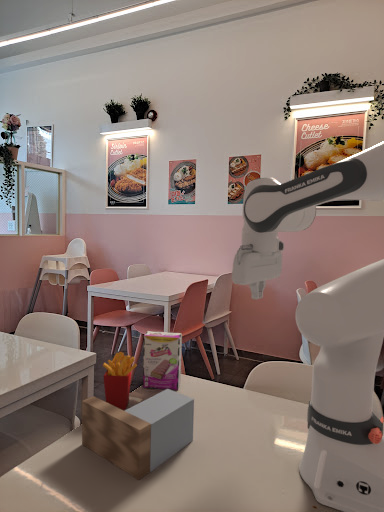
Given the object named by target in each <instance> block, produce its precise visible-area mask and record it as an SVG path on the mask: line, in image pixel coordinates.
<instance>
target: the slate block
mask: <svg viewBox="0 0 384 512" xmlns="http://www.w3.org/2000/svg"><path fill="white" fill-rule="evenodd" d="M194 408H195V398H193V397H190V396H187V395H185V394H182V393H179V392H177V391H175V390H171V389H163V390H162V391H160V392H158V393H157V394H154V395H153V396H151V397H148V398H147V399H144V400H142V401H141V402H138V403H137V404H135V405H132V406H131V407H130V408H126V410H125V411H126V412H128V413H130V414H132V415H134V416H136V417H138V418H140V419H142V420H144V421H146V422H148V423H151V444H150V472H149V473H151V472H153V471H154V470H156V469H157V468H158V467H159V466H161V465H162V464H164V463H165V462H166V461H168V460H169V459H171V457H173V456H174V455H175V454H177V453H178V452H179V451H181V450H182V449H183V448H185V447H186V446H188V445H189V444H190V443H191V442H193V441H194V418H195V416H194V415H195V414H194V412H195V409H194Z"/></svg>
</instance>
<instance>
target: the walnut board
mask: <svg viewBox="0 0 384 512" xmlns="http://www.w3.org/2000/svg"><path fill="white" fill-rule="evenodd" d="M81 417H82V418H81V441H82V442H81V443H82V445H83V446H84V447H85V448H87V449H89V450H90V451H91V452H93V453H95V454H97V455H99V456H100V457H101V458H103V459H105V460H106V461H108V462H109V463H111V464H112V465H114V466H116V467H118V468H119V469H121V470H122V471H124V472H125V473H127V474H128V475H130V476H132V477H134V478H135V479H137V480H138V481H140V480H141V479H142V478H144V477H145V476H147V475H148V474H149V473H151V472H150V444H151V423H148V422H146V421H144V420H142V419H140V418H138V417H136V416H134V415H132V414H130V413H128V412H126V411H123V410H121V409H119V408H117V407H115V406H113V405H111V404H109V403H107V402H106V400H102V399H100V398H98V397H97V396H94V395H92V396H91V397H88V398H86V399H83V400H81Z"/></svg>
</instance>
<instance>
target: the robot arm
mask: <svg viewBox="0 0 384 512" xmlns="http://www.w3.org/2000/svg"><path fill="white" fill-rule="evenodd" d="M242 200H243V202H242V218H243V226H242V228H241V229H242V230H241V245H240V246H239V248H238V249H237V251H236V253H235V255H234V258H233V263H232V271H231V273H232V274H231V280H232V282H233V284H234V285H235V284H236V285H242V286H247V285H248V287H249V290H250V292H251V299H252V300H260V299H262V298H264V290H265V288H266V285H267V281H270V280H273V279H277V278H279V277H280V276H281V273H282V270H283V269H282V267H283V253H282V252H283V251H284V250H285V243H284V242H283V241H282V240H281V239H280V238H279V236H278V233H287V232H288V233H291V232H292V233H295V232H296V233H297V232H301V231H305V230H307V229H308V228H309V227H311V226H312V224H313V223H314V220H315V218H316V215H317V206H320V205H322V204H325V203H329V202H334V201H345V200H346V201H350V200H351V201H367V202H368V201H369V202H384V141H382V142H380V143H377V144H375V145H373V146H372V147H369V148H366V149H365V150H362V151H361V152H358V153H356V154H353V155H351V156H348V157H347V158H344V159H342V160H340V161H337V162H335V163H332V164H329V165H327V166H324V167H322V168H319V169H316V170H313V171H311V172H309V173H306V174H303V175H301V176H298V177H296V178H293V179H291V180H288V181H286V182H283V183H281V182H279V181H278V179H276V178H275V177H269V176H268V177H267V176H266V177H258V178H254V179H252V180H250V181H249V182H248V183H247V184H246V185H245V189H244V193H243V199H242ZM294 315H295V323H296V326H297V328H298V331H299V332H300V334H301V335H302V336H303V338H305V339H306V340H307V341H308V342H309V343H311V344H313V345H315V346H318V347H320V349H319V352H318V354H317V355H316V358H315V360H314V362H313V365H312V377H311V378H312V379H311V394H310V395H311V397H310V398H311V399H310V400H309V401H308V407H307V416H306V418H307V419H306V421H307V430H308V433H307V436H306V437H307V438H306V442H305V447H304V451H303V454H302V457H301V459H300V462H299V466H298V470H299V475H300V477H301V478H302V479H303V481H304V482H305V483H306V485H308V487H310V489H311V490H312V493H313V495H314V497H315V500H316V501H317V502H318V503H319V504H321V505H323V506H327V507H330V508H332V509H335V510H338V511H340V512H384V417H383V416H381V417H380V419H379V418H378V416H377V415H375V413H374V412H373V406H374V405H373V403H374V402H373V401H374V391H375V389H374V388H375V378H376V371H377V367H378V362H379V357H380V355H381V350H382V346H383V342H384V258H382V259H380V260H378V261H376V262H372V263H369V264H368V265H366V266H364V267H360V268H359V269H357V270H356V269H355V270H354V271H352V272H349V273H347V274H344V275H343V276H340V277H338V278H336V279H334V280H330V281H329V282H327V283H325V284H322V285H320V286H318V287H317V288H315V289H313V290H312V291H310V292H308V293H307V294H305V295H304V296H303V297H302V298H301V299H300V300H299V302H298V304H297V305H296V308H295V314H294Z"/></svg>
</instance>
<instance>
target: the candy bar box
mask: <svg viewBox="0 0 384 512" xmlns="http://www.w3.org/2000/svg"><path fill="white" fill-rule="evenodd" d="M182 338H183V334H182V333H180V332H166V331H164V332H163V331H154V330H153V331H151V330H147V331H146V332H145V333H144V335H143V350H142V351H143V352H142V353H143V355H142V357H143V359H142V361H143V362H142V368H143V369H142V388H144V389H145V388H146V389H148V388H149V389H150V388H151V389H161V390H166V389H170V390H172V391H175V390H176V391H179V389H180V386H181V381H182V380H181V378H182V376H181V375H182V374H181V372H182V371H181V370H182V369H181V368H182V347H183V345H182V344H183V343H182V342H183V341H182V340H183V339H182Z"/></svg>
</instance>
